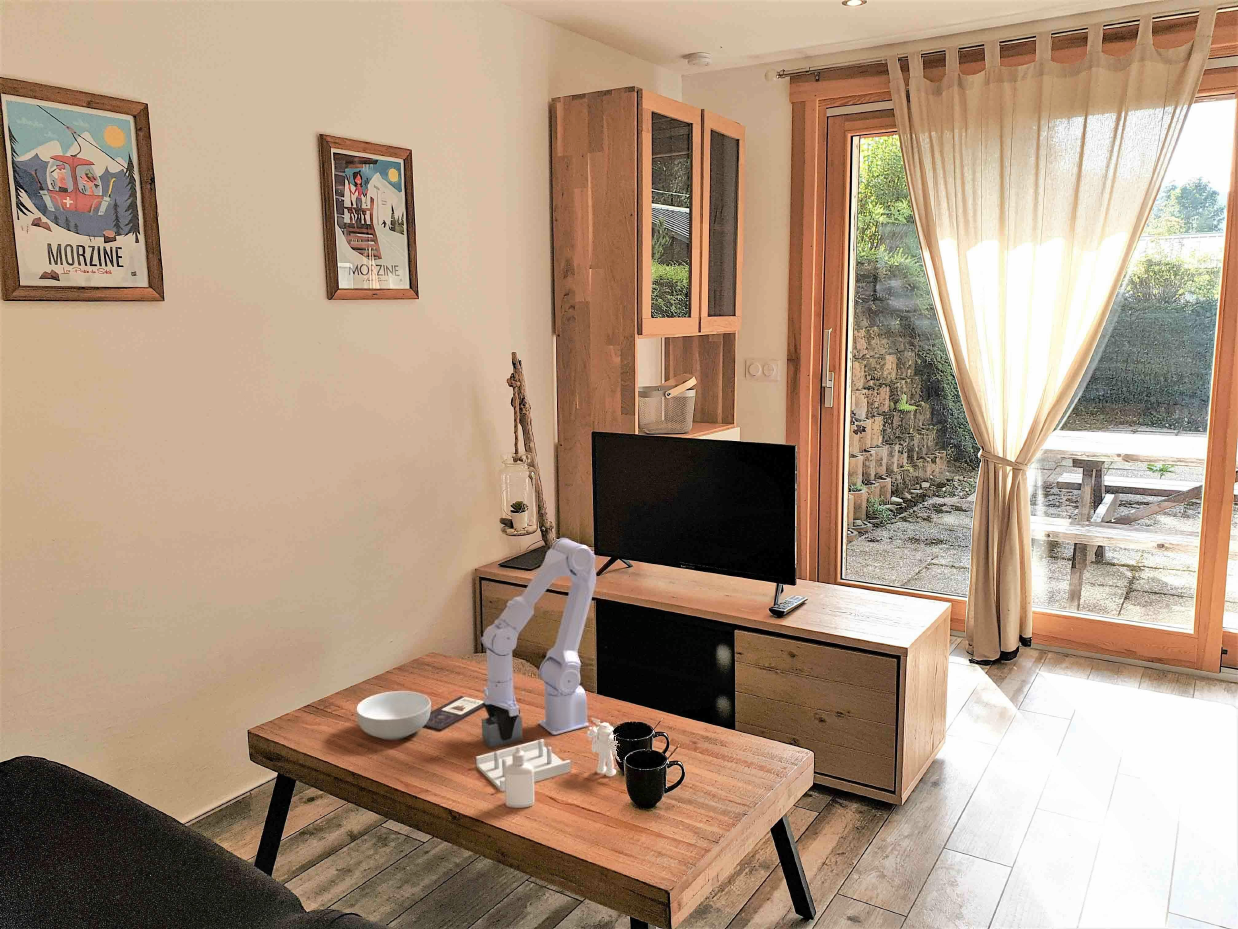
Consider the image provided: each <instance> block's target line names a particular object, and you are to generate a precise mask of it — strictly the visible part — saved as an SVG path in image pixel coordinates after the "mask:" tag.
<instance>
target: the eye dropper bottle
mask: <svg viewBox="0 0 1238 929" xmlns="http://www.w3.org/2000/svg"><path fill="white" fill-rule="evenodd" d="M516 746H517V747H516V751H515V752H513V753H512V760H513V763H511V764H509V765H507V766H506V768H505V791H504V796H505V798H504V799H505V801H504V802H505V805H506V807H508V808H515V809H520V808H521V809H522V808H529V807H532V806H534V805H535V782H534V771H533V766H532V765H530V764H528V763H525V753H524V752H523V751H521V748H520V746H518V745H516Z"/></svg>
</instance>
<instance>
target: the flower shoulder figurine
mask: <svg viewBox="0 0 1238 929" xmlns="http://www.w3.org/2000/svg"><path fill="white" fill-rule="evenodd" d="M590 719H591V720H592V721H593V722H592V723H595V726H592V727H591V726H590V727H588V729H589V730H586V736H587V739H588V740H589V741H591V752H592V753H597V754H598V765H597V770H596V773H597V774H599V775H600V774H605V776H606V777H613V776H615V775H616V774H617V770H616V769H614V768H615V767H614V758H613V754H614V756H615V758H616V759H617V760H618V762H620V763H621V761H620V759H619V757H618V756H617V751H616V749H617V746H618V745H619V744H617V743H618V741H616V737H615V741H614V736H616V735H617V734H618V733H616V734H614V732H613V730H614V727H613V726H612V725H610V724H609V723H608V722H602V723H601V720H600V719H597V718H594V717H590ZM597 725H598V726H597ZM596 726H597V727H596ZM615 745H616V746H615Z"/></svg>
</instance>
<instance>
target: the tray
mask: <svg viewBox="0 0 1238 929" xmlns="http://www.w3.org/2000/svg"><path fill="white" fill-rule="evenodd" d="M545 741H546V740H545V739H543V738H542V739H538V740H534V741H533V740H532V741H531V742H527V743H523V744H518V745H515V746H511V747H507V748H504V749H500V750H496V751H492V752H489V753H488V752H487V753H484V754H481V755H478V756H475V764H476V765H475V766H476V768H477V769H478V771H480V772H481V773H482V775H484V776H485V777H486V778H487V779H488V780H489V781H490V782H491V783H492V784H493V785H494V786H495V787H496V788H497V789H498V790H499V791H500V792H502V793H503V792H505V768H506V766H507V765H509V764H511V763H513V760H512V753H513V752H515V751H516V747H517V746H520V748H521V751H523V752H524V753H525V763H528V764H530V765H532V766H533V771H534V783H536V782H540V781H543V780H547V779H550V778H553V777H557V776H561V775H564V774H567V773H570V772H572V761H571V760H570V759H568V760H562V759H560V757H558V756H557V755H556V754H555V753H553V752H552V746H547V747H546V746H545V743H546V742H545Z"/></svg>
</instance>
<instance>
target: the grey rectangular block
mask: <svg viewBox="0 0 1238 929" xmlns="http://www.w3.org/2000/svg"><path fill="white" fill-rule="evenodd" d="M522 719H523V718H522V716H521V715H519V716H518V717H517V720H516V722H515V725H514V729H513V733H512V738H511V739H508V740H505V741H503V740H502V738H501V734H500V728H499V723H498V720H497V718H496V716H492V717H489V716H488V717H485V718H481V739H482V740H481V741H482V743H483V744H484V745H485V746H486V747H487V748H488V749H489V750H491V749H495V748H499V747H503V746H507V745H511V744H515V743H518V742H521V741H523V720H522Z"/></svg>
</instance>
